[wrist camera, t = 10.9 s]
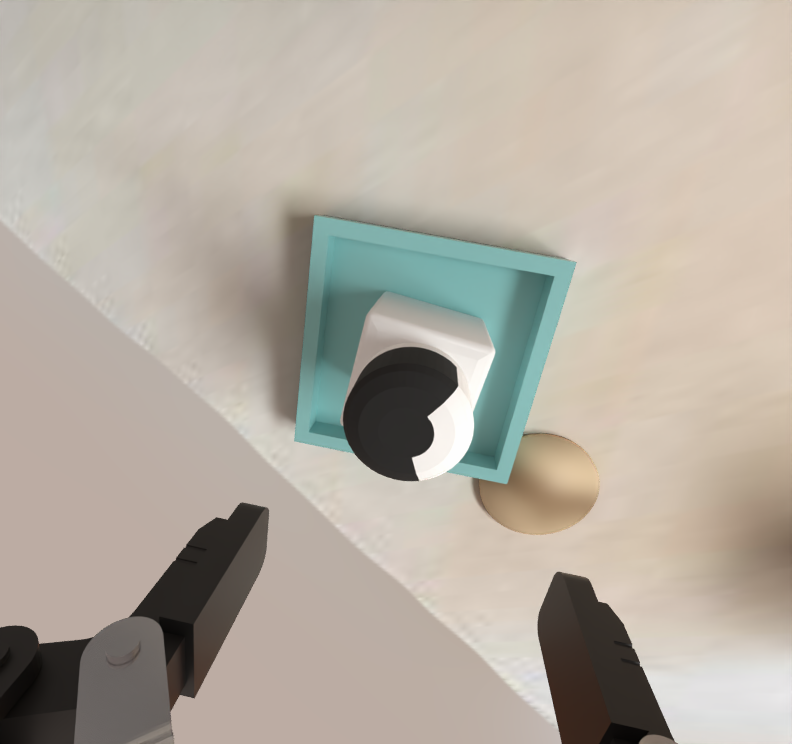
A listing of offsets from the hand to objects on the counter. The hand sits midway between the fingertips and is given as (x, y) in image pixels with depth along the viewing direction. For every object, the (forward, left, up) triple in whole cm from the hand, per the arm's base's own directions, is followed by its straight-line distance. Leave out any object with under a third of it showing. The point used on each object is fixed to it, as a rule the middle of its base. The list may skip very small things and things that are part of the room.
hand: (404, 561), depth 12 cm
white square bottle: (0, -1, -20) cm, 20 cm away
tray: (0, -1, -20) cm, 20 cm away
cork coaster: (+9, +10, -20) cm, 24 cm away
